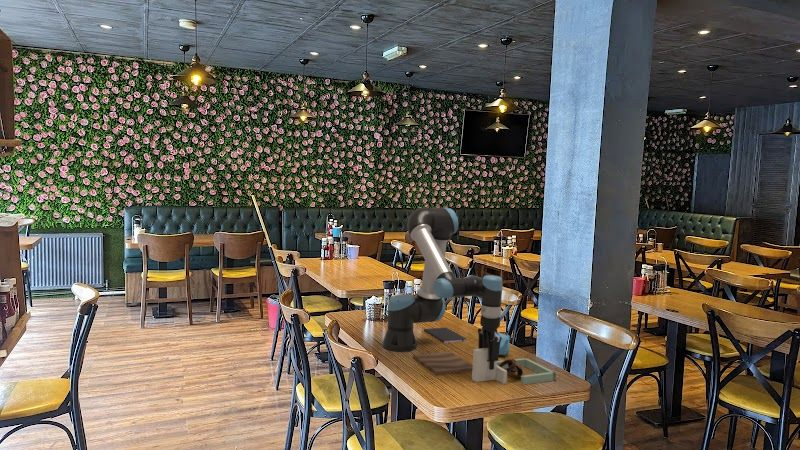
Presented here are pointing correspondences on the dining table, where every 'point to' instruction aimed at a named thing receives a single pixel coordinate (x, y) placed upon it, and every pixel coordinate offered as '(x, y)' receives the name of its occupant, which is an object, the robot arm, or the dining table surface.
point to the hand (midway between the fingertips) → (486, 375)
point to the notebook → (445, 335)
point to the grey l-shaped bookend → (481, 366)
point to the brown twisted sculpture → (512, 367)
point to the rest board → (443, 362)
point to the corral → (543, 372)
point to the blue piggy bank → (504, 344)
